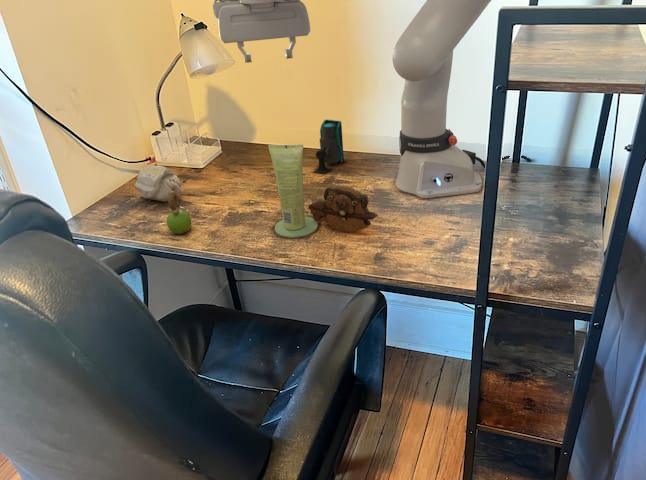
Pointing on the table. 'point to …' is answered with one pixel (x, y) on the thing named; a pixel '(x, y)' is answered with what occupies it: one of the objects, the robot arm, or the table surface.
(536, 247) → the table surface
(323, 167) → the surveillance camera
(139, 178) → the fossil replica
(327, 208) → the wooden carving
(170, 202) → the green bulbous piece
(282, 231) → the coaster
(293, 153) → the tube
